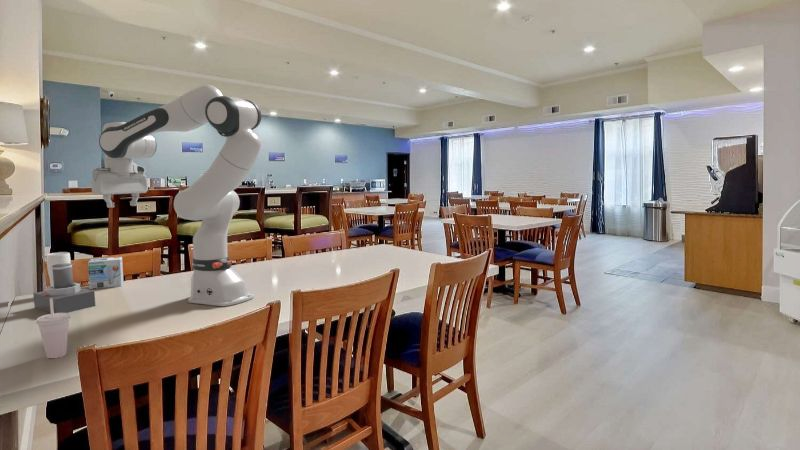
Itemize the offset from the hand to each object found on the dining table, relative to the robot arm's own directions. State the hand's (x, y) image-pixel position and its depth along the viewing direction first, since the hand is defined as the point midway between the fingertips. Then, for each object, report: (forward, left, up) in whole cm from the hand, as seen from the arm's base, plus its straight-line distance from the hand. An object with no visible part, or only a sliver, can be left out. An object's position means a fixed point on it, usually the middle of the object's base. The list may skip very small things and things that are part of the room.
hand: (122, 206), depth 157 cm
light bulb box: (+16, -1, -32) cm, 36 cm away
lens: (0, +21, -27) cm, 34 cm away
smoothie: (-43, +42, -32) cm, 68 cm away
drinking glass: (+17, +14, -32) cm, 39 cm away
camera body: (-1, +21, -32) cm, 38 cm away
